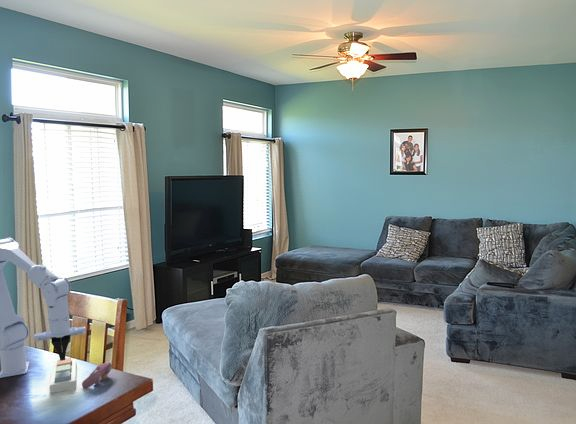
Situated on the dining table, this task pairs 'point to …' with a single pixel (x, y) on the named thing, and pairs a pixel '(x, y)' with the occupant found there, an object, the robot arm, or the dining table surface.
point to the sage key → (63, 368)
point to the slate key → (62, 376)
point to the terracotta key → (64, 362)
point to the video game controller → (97, 375)
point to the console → (64, 384)
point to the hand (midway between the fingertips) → (62, 359)
